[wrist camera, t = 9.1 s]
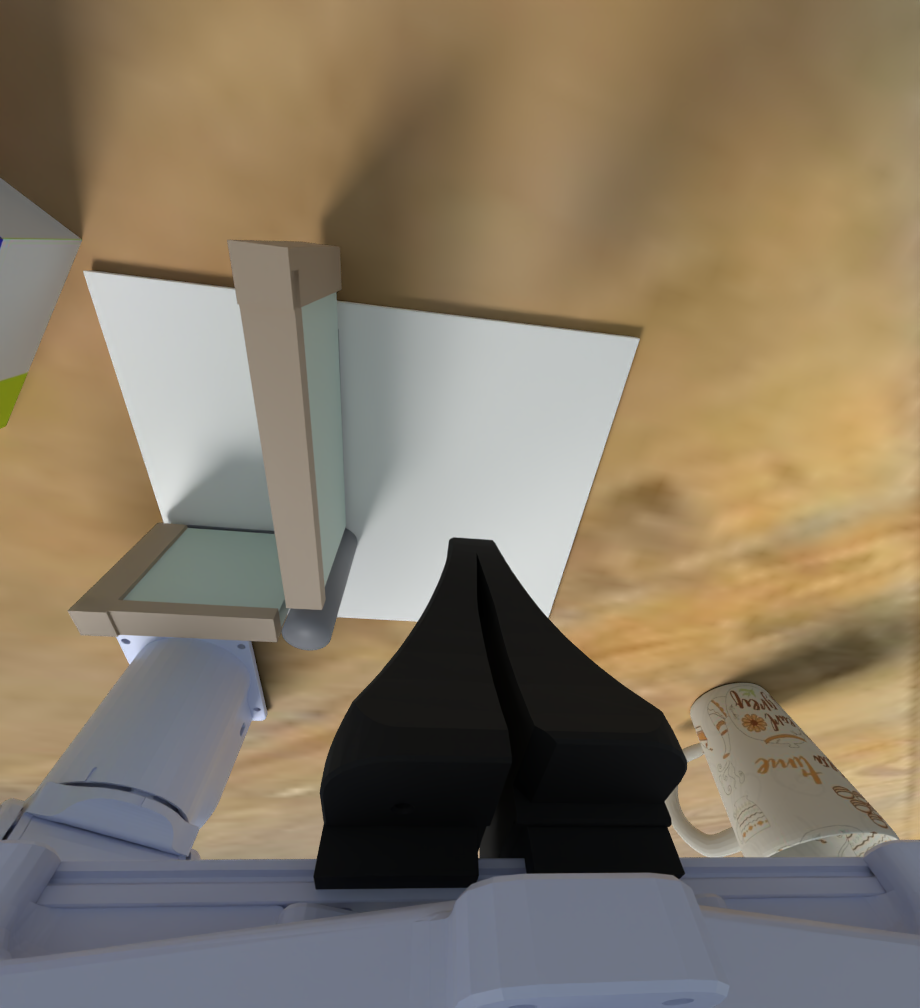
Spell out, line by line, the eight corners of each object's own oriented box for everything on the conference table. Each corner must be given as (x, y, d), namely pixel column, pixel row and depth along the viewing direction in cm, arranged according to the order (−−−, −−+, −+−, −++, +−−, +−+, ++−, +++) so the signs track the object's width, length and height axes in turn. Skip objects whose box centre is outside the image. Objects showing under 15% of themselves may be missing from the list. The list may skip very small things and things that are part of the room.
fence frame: (359, 552, 24) (332, 651, 18) (174, 539, 23) (83, 640, 17) (358, 523, 23) (329, 619, 17) (165, 509, 22) (64, 605, 16)
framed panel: (349, 525, 22) (321, 611, 17) (322, 523, 21) (285, 610, 16) (340, 246, 15) (287, 247, 10) (300, 241, 15) (227, 239, 10)
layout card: (543, 623, 27) (545, 629, 27) (195, 604, 25) (190, 610, 25) (635, 337, 18) (640, 339, 17) (90, 270, 16) (80, 270, 15)
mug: (801, 697, 33) (925, 852, 25) (672, 763, 38) (737, 911, 30) (745, 658, 30) (864, 819, 22) (613, 735, 35) (668, 890, 27)
